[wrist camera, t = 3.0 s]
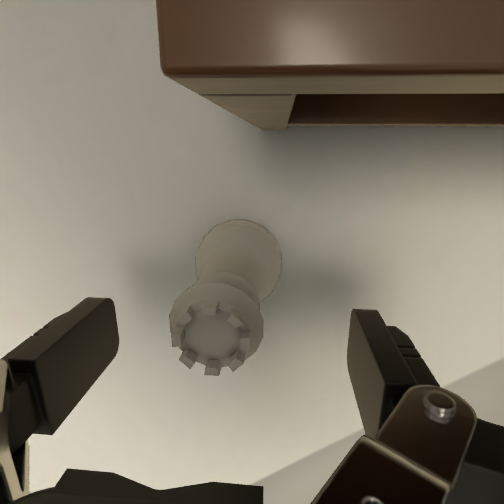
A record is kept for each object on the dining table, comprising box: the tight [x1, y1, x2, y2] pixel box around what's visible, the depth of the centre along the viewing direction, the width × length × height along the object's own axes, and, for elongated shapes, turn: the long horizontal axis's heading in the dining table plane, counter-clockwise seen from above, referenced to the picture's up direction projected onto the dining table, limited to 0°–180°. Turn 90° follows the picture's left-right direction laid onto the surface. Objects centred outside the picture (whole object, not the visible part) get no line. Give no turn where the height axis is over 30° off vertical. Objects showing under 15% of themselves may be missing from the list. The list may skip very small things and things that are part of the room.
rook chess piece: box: [169, 220, 282, 376], centre depth 14 cm, size 4×4×8 cm
